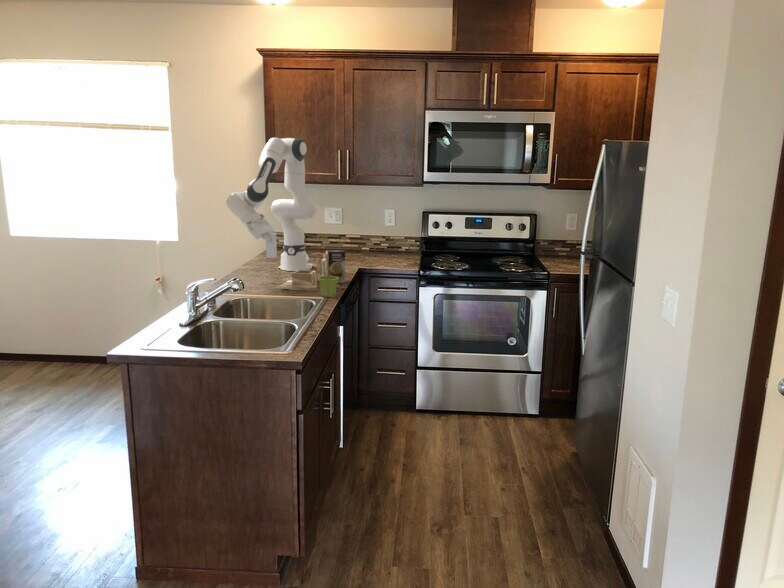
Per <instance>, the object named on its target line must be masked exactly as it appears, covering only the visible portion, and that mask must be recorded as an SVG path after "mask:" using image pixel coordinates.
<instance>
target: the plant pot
mask: <svg viewBox="0 0 784 588" xmlns="http://www.w3.org/2000/svg"><path fill="white" fill-rule="evenodd" d="M318 279H319V282H320V286H321V291H320V292H321V297H323V298H326V297H327V298H334V297H335V296H336V292H337V285H338V283H337V282H338V279H339V277H337V276H321V277H318Z"/></svg>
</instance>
